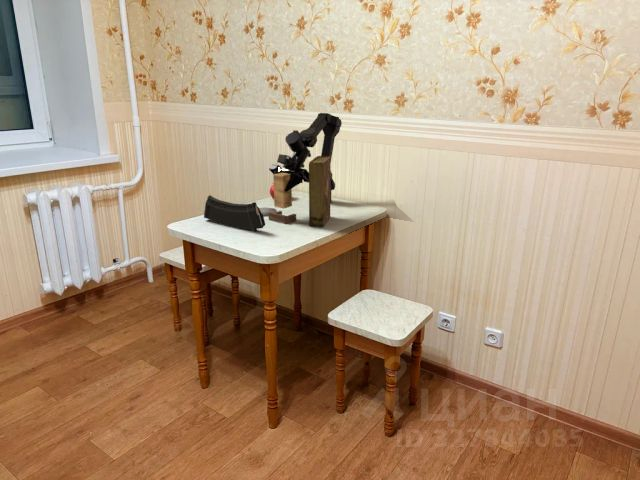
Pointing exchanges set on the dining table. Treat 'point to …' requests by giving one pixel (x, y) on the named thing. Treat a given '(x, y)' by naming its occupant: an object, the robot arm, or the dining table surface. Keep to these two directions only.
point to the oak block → (282, 191)
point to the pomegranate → (272, 191)
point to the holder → (281, 217)
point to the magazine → (234, 214)
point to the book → (319, 190)
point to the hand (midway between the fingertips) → (280, 190)
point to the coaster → (267, 211)
